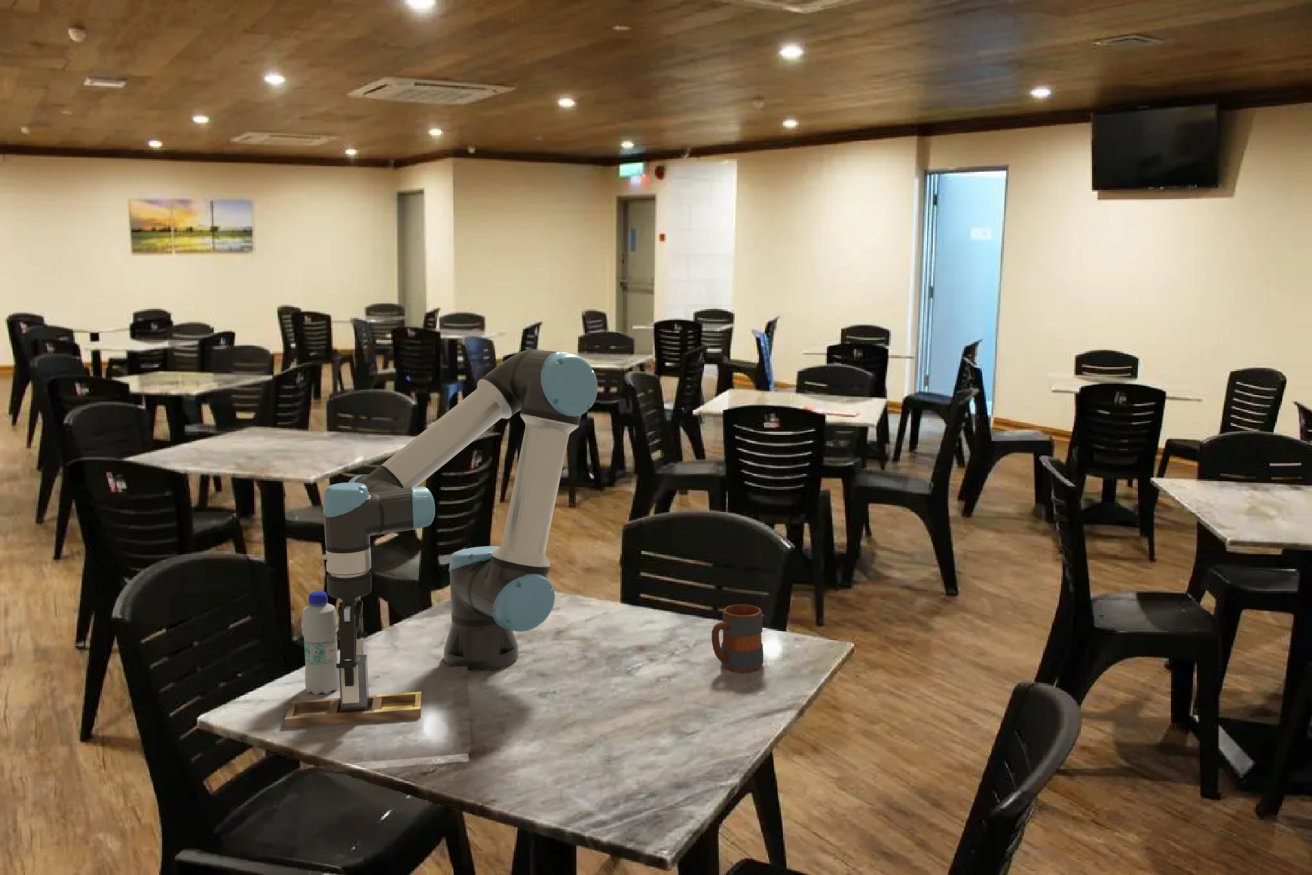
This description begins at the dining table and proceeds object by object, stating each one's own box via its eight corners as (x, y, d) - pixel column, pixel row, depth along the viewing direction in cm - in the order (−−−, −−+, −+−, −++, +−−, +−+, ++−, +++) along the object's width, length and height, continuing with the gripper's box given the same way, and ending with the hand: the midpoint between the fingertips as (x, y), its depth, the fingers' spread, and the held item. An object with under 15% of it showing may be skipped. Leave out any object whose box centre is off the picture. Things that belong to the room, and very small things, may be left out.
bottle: (331, 701, 205) (325, 597, 202) (298, 698, 207) (292, 595, 203) (348, 687, 212) (343, 587, 209) (315, 685, 213) (310, 585, 210)
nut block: (369, 707, 200) (366, 654, 199) (367, 717, 196) (365, 662, 194) (343, 709, 199) (341, 655, 198) (341, 719, 195) (338, 664, 193)
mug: (698, 667, 222) (698, 611, 220) (744, 655, 229) (744, 600, 227) (726, 680, 215) (726, 623, 213) (772, 667, 222) (773, 611, 220)
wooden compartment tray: (421, 704, 204) (421, 691, 203) (420, 722, 196) (420, 708, 196) (291, 714, 200) (291, 700, 199) (285, 732, 192) (284, 718, 191)
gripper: (333, 554, 205) (338, 663, 208) (318, 593, 181) (324, 716, 184) (375, 552, 206) (379, 661, 210) (365, 591, 182) (371, 713, 185)
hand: (354, 687), depth 197 cm, fingers open, 13 cm apart
